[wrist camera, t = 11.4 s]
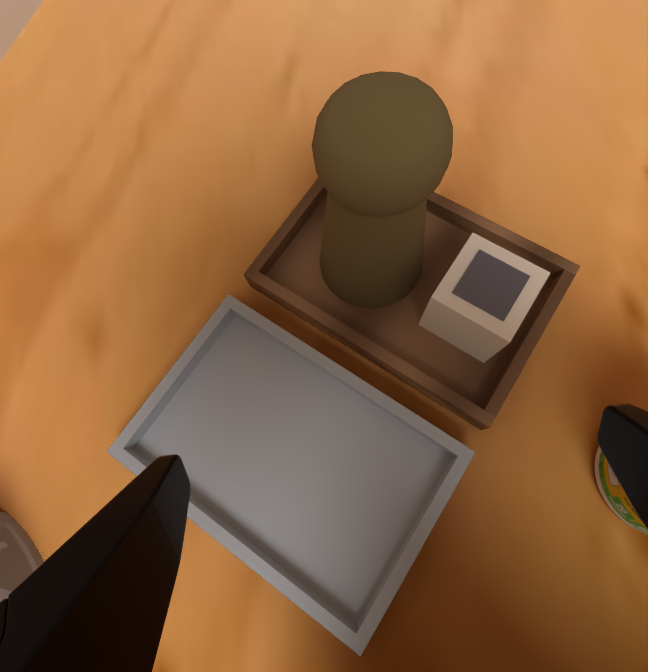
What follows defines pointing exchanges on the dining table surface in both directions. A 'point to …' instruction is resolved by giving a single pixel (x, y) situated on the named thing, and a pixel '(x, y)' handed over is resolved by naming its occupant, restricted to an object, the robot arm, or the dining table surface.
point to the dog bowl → (15, 555)
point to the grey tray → (298, 467)
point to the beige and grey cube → (483, 298)
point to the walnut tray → (411, 305)
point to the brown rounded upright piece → (378, 183)
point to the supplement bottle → (615, 493)
